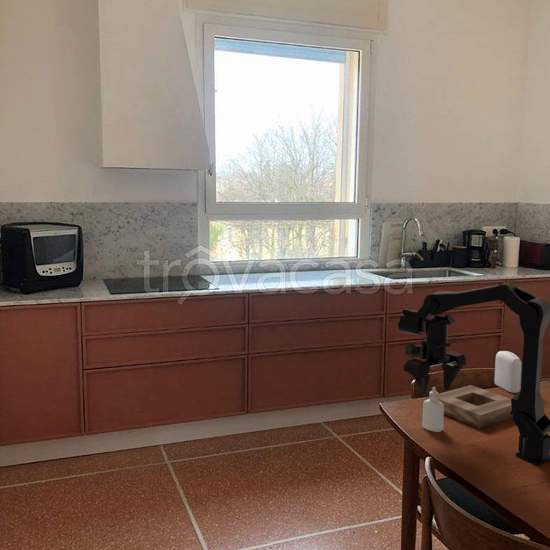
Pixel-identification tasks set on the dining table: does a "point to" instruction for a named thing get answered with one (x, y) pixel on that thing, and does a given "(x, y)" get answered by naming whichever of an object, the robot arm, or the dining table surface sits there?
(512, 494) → the dining table surface
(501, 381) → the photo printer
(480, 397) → the socket block
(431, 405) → the eye dropper bottle
